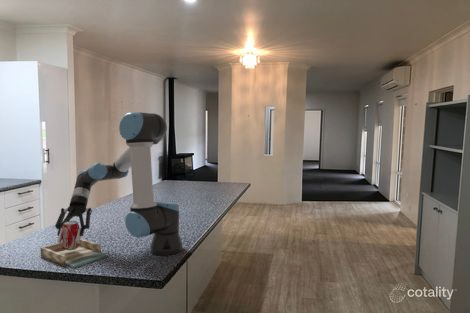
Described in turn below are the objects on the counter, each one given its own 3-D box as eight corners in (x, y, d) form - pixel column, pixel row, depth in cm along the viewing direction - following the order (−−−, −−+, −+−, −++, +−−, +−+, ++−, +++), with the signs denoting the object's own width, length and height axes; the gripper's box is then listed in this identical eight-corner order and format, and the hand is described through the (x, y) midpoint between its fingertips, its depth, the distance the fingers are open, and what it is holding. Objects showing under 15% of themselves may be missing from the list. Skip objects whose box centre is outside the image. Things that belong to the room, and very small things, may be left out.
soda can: (58, 249, 155) (58, 223, 154) (71, 245, 161) (70, 219, 161) (71, 252, 152) (70, 225, 151) (83, 247, 159) (82, 221, 158)
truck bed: (109, 256, 156) (108, 247, 156) (71, 268, 141) (71, 259, 141) (78, 245, 170) (78, 237, 169) (40, 256, 155) (40, 247, 154)
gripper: (102, 203, 172) (93, 245, 157) (60, 203, 170) (47, 246, 155) (99, 194, 166) (89, 237, 151) (55, 194, 164) (41, 238, 149)
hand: (68, 242), depth 153 cm, fingers closed on soda can, 7 cm apart
